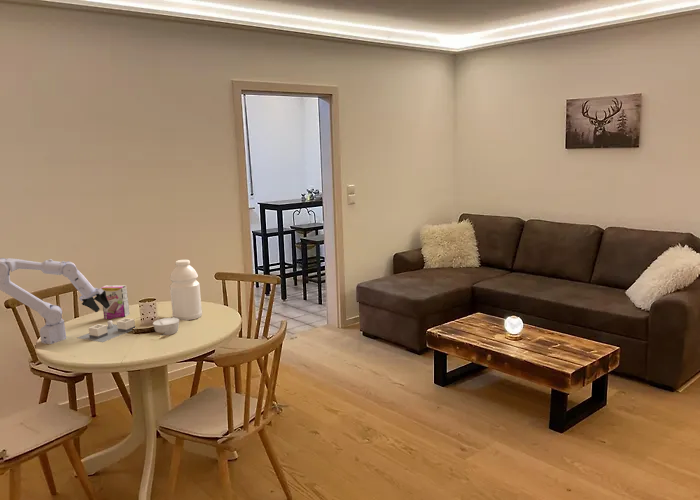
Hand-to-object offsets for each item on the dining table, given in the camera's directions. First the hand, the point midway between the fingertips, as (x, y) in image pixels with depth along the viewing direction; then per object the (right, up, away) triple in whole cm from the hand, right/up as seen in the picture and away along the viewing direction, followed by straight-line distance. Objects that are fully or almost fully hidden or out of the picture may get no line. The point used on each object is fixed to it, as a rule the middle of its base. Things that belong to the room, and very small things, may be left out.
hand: (103, 309), depth 254 cm
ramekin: (+28, -11, +3) cm, 30 cm away
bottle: (+31, -7, +25) cm, 40 cm away
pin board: (+2, -12, 0) cm, 12 cm away
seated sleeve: (+9, -10, +3) cm, 14 cm away
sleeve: (0, -12, -4) cm, 12 cm away
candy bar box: (-4, -8, +26) cm, 28 cm away
